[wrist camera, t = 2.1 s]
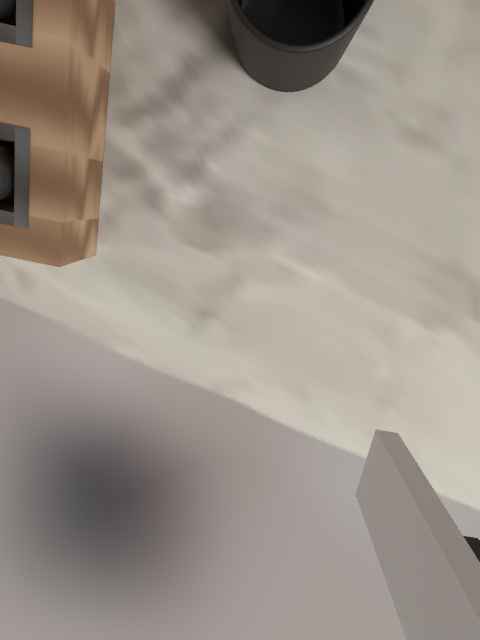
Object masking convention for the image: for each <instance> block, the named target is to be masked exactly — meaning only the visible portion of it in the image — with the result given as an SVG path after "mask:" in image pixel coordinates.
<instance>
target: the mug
mask: <svg viewBox="0 0 480 640" xmlns="http://www.w3.org/2000/svg"><path fill="white" fill-rule="evenodd" d="M373 1H374V0H227V4H228V11H229V18H230V24H231V31H232V37H233V44H234V47H235V50H236V53H237V55H238V58H239V60H240V62H241V64H242V65H243V67H244V68H245V70H246V71H247V72H248V73H249V74H250V75H251V77H252V78H253V79H255V80H256V81H257V82H259V83H260V84H262V85H263V86H265V87H267V88H270V89H273V90H276V91H281V92H295V91H300V90H304V89H307V88H309V87H311V86H313V85H315V84H317V83H318V82H320V81H321V80H323V79H324V78H325V77H326V76H327V75H328V74H329V73H330V72H331V71H332V70H333V69H334V68H335V66H336V65H337V63H338V62H339V60H340V59H341V57H342V55H343V53H344V52H345V50H346V48H347V47H348V45H349V43H350V41H351V40H352V38H353V36H354V34H355V33H356V31H357V29H358V28H359V26H360V24H361V22H362V21H363V19H364V17H365V15H366V14H367V12H368V10H369V9H370V7H371V5H372V3H373Z"/></svg>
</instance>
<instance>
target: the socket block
mask: <svg viewBox="0 0 480 640" xmlns="http://www.w3.org/2000/svg"><path fill="white" fill-rule="evenodd" d="M114 13H115V0H16V26H13V25H10V23H6V24H3V23H0V146H2V147H4V148H6V149H8V150H9V142H10V143H15V174H14V201H11V200H9V199H8V200H0V255H2V256H7V257H12V258H17V259H22V260H27V261H32V262H37V263H42V264H47V265H52V266H57V267H61V266H64V265H67V264H70V263H73V262H76V261H79V260H82V259H85V258H89V257H92V256H95V255H96V246H97V233H98V220H99V207H100V194H101V181H102V168H103V155H104V142H105V129H106V116H107V103H108V91H109V78H110V65H111V52H112V39H113V26H114Z"/></svg>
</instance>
